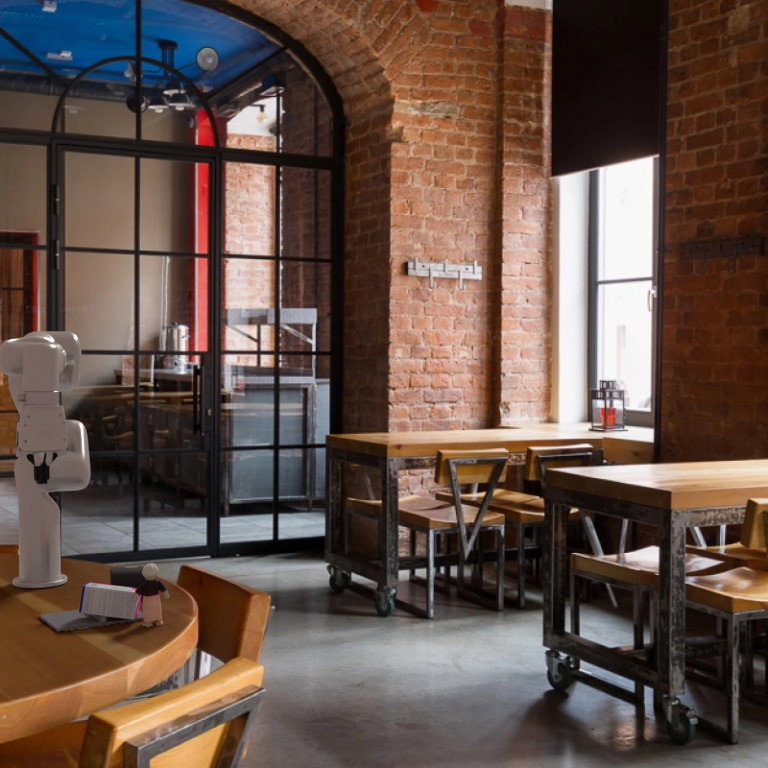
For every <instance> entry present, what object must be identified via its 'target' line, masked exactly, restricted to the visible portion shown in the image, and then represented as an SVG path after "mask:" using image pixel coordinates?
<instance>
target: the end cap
mask: <svg viewBox="0 0 768 768" xmlns="http://www.w3.org/2000/svg"><path fill="white" fill-rule="evenodd" d="M144 566H145V565H143V566H142V565H139V566H137V567H123V566H121V567H117V566H116V567H113V568H110V569H109V585H115V586H123V587H131V588H138V586H139V585H140V584H142V583H144V582H147V581H148V580H146V579H145V577H144V576H143V574H142V570H143V567H144ZM155 580H157V577H156V578H155ZM143 595H144V594H142V595H141V597H143Z"/></svg>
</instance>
